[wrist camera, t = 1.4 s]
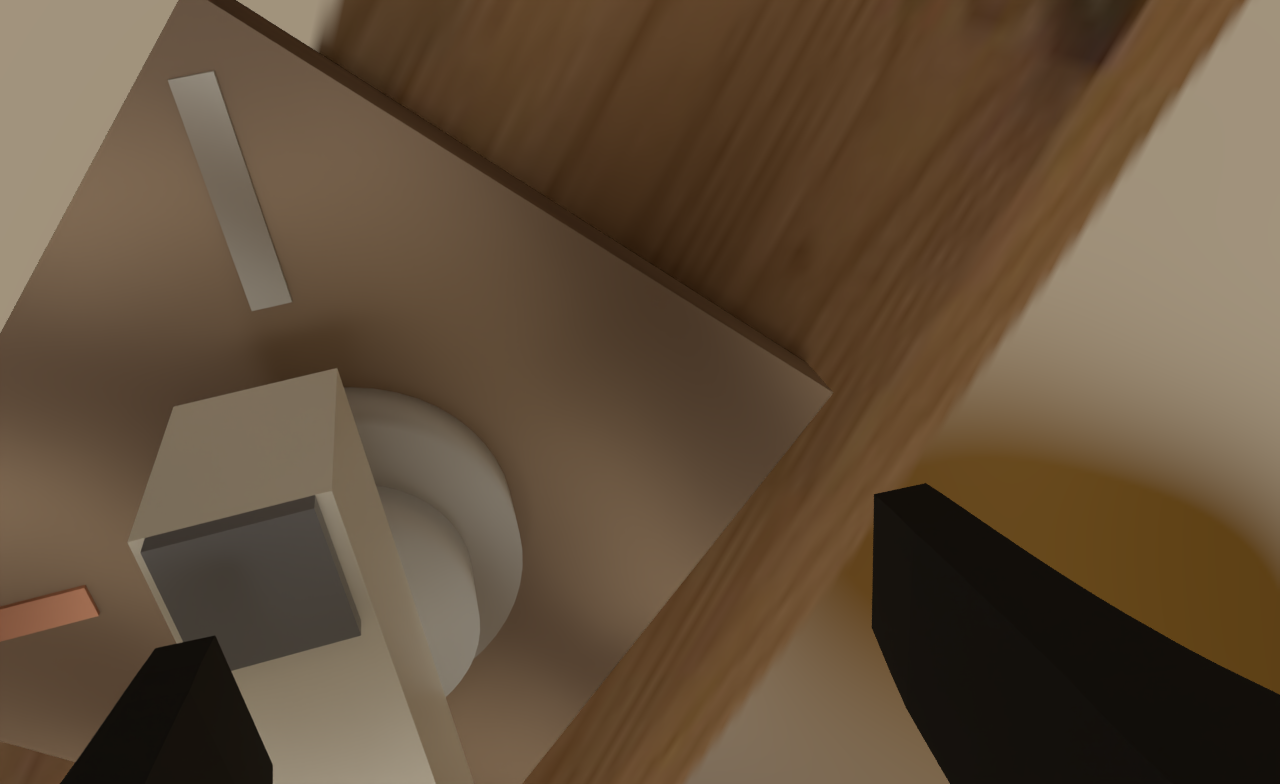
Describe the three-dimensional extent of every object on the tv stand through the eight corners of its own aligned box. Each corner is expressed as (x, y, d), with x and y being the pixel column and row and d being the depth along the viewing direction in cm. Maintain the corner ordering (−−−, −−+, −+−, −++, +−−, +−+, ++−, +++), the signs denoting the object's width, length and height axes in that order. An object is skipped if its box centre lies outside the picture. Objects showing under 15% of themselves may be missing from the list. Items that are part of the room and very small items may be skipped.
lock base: (450, 819, 27) (459, 921, 24) (-155, 636, 21) (-230, 747, 18) (806, 362, 23) (863, 426, 21) (199, -24, 17) (169, -3, 14)
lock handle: (522, 742, 22) (566, 977, 17) (312, 804, 21) (299, 1064, 17) (399, 314, 17) (415, 482, 12) (123, 378, 16) (31, 580, 12)
